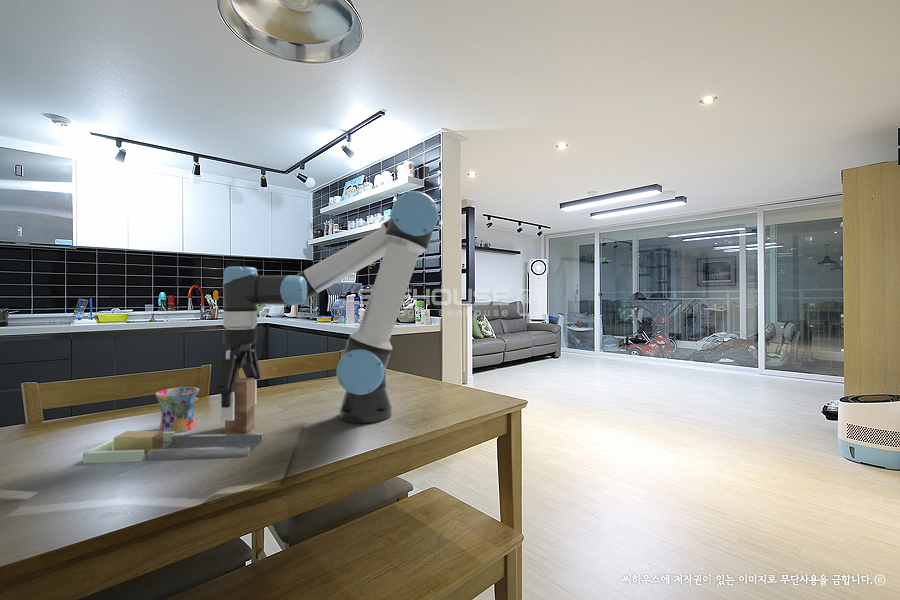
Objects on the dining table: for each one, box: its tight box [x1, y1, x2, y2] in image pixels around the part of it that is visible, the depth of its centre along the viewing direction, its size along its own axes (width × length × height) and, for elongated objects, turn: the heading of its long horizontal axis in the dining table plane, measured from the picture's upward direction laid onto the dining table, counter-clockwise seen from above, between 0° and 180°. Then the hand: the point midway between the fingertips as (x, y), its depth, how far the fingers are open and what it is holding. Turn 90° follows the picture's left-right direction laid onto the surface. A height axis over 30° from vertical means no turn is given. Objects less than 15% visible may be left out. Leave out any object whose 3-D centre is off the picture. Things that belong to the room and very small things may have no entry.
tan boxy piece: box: [132, 430, 164, 455], centre depth 86 cm, size 4×4×4 cm
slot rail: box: [145, 432, 265, 461], centre depth 88 cm, size 20×11×2 cm, turn 96°
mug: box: [154, 386, 200, 434], centre depth 102 cm, size 12×9×11 cm
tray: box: [82, 432, 176, 464], centre depth 86 cm, size 11×12×3 cm
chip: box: [113, 430, 145, 451], centre depth 86 cm, size 4×4×4 cm
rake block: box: [224, 377, 255, 434], centre depth 99 cm, size 5×5×14 cm
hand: (239, 411), depth 99 cm, fingers open, 13 cm apart
